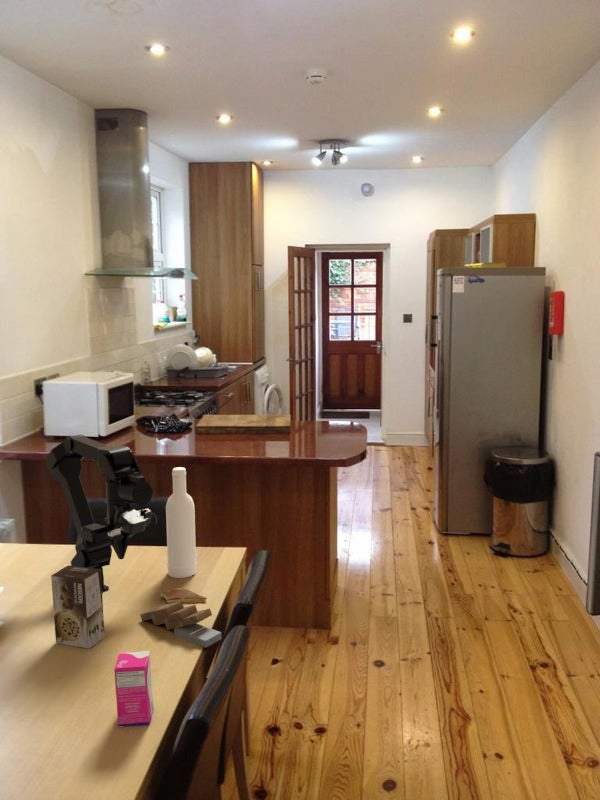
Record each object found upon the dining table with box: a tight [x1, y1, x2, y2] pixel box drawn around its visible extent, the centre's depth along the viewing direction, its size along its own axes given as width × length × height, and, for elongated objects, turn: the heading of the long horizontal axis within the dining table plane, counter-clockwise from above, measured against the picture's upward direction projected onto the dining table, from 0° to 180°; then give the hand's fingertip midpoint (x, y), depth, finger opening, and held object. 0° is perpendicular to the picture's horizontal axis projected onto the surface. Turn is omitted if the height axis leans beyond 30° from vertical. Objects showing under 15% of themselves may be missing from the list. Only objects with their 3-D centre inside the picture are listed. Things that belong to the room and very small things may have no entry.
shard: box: [160, 587, 208, 605], centre depth 180 cm, size 11×8×2 cm
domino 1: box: [140, 601, 185, 622], centre depth 167 cm, size 2×5×10 cm
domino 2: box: [151, 604, 198, 626], centre depth 165 cm, size 2×5×10 cm
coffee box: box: [50, 564, 105, 649], centre depth 158 cm, size 9×6×16 cm
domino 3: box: [164, 607, 213, 631], centre depth 163 cm, size 2×5×10 cm
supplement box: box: [113, 650, 154, 727], centre depth 128 cm, size 6×6×12 cm
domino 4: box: [173, 623, 222, 648], centre depth 160 cm, size 2×5×10 cm
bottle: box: [165, 466, 197, 579], centre depth 196 cm, size 8×8×30 cm
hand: (121, 558), depth 176 cm, fingers closed
